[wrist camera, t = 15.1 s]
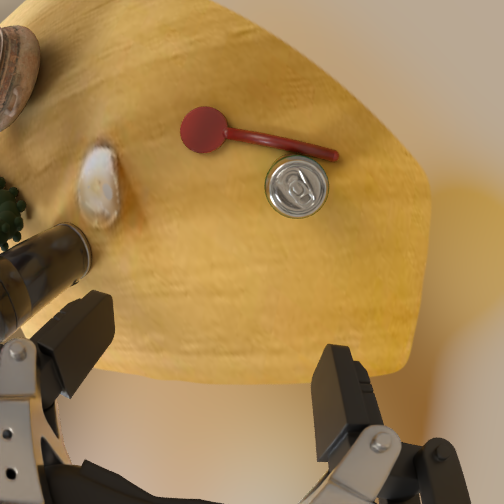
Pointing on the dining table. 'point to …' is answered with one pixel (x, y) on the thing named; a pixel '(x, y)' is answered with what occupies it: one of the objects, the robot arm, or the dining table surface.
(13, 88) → the cooking pot
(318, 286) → the dining table surface
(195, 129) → the spoon
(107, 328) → the robot arm
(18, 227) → the toy figurine
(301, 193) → the soda can
